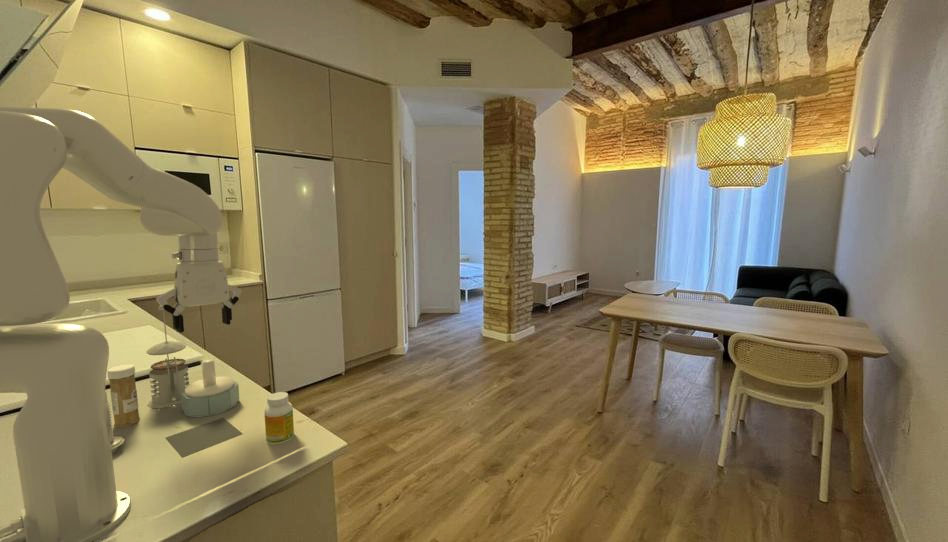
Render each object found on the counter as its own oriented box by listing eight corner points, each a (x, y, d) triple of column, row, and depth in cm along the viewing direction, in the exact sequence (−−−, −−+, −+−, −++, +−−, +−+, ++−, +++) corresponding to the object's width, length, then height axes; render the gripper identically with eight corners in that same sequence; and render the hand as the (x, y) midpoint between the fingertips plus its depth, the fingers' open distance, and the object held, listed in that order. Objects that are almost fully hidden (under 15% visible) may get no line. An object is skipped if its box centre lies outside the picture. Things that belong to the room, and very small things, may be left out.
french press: (191, 387, 108) (183, 299, 105) (200, 401, 100) (192, 306, 97) (145, 399, 101) (135, 304, 98) (150, 415, 93) (140, 312, 90)
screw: (128, 444, 81) (121, 456, 77) (97, 450, 79) (88, 463, 75) (121, 384, 80) (113, 394, 75) (90, 389, 77) (79, 399, 73)
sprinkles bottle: (138, 425, 89) (132, 368, 87) (111, 431, 86) (104, 372, 84) (141, 416, 93) (135, 362, 91) (116, 422, 90) (109, 366, 88)
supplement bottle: (290, 444, 82) (287, 400, 81) (262, 447, 81) (259, 402, 80) (296, 431, 87) (294, 389, 86) (270, 433, 86) (268, 391, 85)
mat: (182, 459, 77) (182, 457, 76) (165, 439, 83) (165, 437, 83) (243, 435, 85) (242, 433, 85) (223, 419, 92) (223, 417, 92)
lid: (193, 401, 90) (190, 372, 89) (179, 389, 96) (176, 362, 95) (240, 387, 97) (238, 360, 97) (224, 376, 104) (223, 351, 103)
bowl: (193, 423, 90) (191, 402, 89) (178, 408, 96) (176, 389, 96) (245, 405, 98) (243, 387, 98) (227, 393, 105) (226, 375, 104)
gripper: (158, 259, 83) (164, 337, 85) (245, 255, 97) (249, 323, 99) (148, 257, 88) (154, 332, 90) (233, 254, 101) (237, 318, 103)
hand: (204, 327), depth 94 cm, fingers open, 9 cm apart
